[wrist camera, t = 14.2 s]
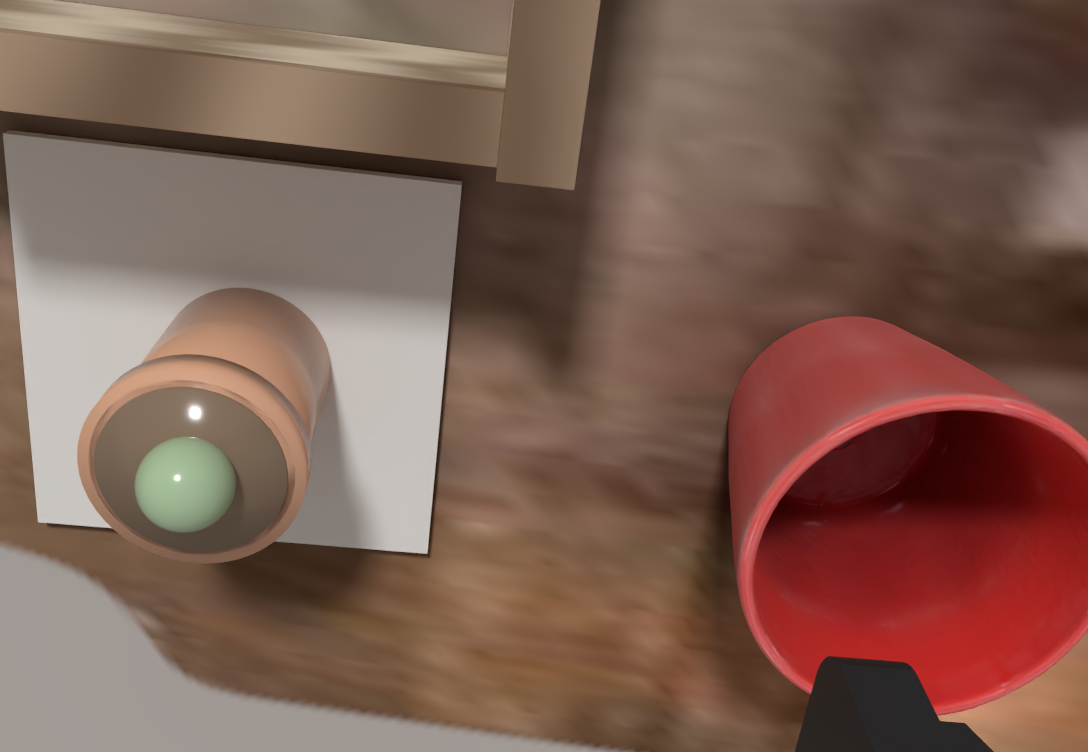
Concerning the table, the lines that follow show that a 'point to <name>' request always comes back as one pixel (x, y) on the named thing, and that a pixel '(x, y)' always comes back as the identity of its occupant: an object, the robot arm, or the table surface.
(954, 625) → the flower pot
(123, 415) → the seedling pot
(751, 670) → the table surface
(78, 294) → the grey mat
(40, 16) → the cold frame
